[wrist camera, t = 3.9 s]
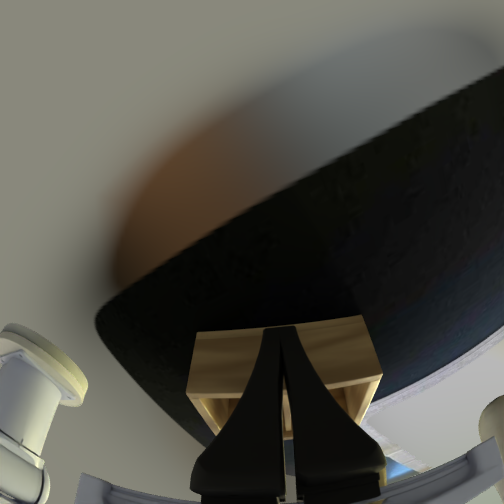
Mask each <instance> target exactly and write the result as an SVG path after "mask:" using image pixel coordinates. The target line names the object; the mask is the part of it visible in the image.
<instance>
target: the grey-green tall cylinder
mask: <svg viewBox="0 0 504 504" xmlns="http://www.w3.org/2000/svg"><path fill="white" fill-rule="evenodd" d="M479 435H480V439H481V442H484V441H486V440H488V439H489V438H491V437H493V436H495V438H496V441H497V444H498V447H499V451H500V454H501V457H502V461H503V464H504V395H502V396H500V397H498V398H496V399H495V400H493V401H492V402H491V403H490V404H489V405H487V406H486V408H485V409H484V410H483V412H482V414H481V416H480V420H479ZM494 486H495V488H496V489H497V491H498V493H499V495H500V497H501V499H502V501H503V504H504V478H503V479H502V480H500V481H499V482H497V483H496V484H494Z"/></svg>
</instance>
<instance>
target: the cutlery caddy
mask: <svg viewBox="0 0 504 504" xmlns="http://www.w3.org/2000/svg"><path fill="white" fill-rule="evenodd" d="M293 325H294V326H295V327H296V330H297V333H298V336H299V339H300V341H301V344H302V346H303V348H304V350H305V352H306V354H307V356H308V358H309V360H310V362H311V364H312V366H313V367H314V369H315V371H316V372H317V374H318V376H319V377H320V379H321V380H322V382H323V383H324V385H325V386H326V388H327V389H328V391H329V392H330V393H331V395H332V396H333V397H334V399H335V400H336V401H337V402H338V404H339V405H340V406H341V407H342V408H343V409H344V411H345V412H346V413H347V414H348V415H349V416H350V417H351V418H352V419H353V421H354V422H355V423H356V424H357V425H358V426H359V425H360V423H361V421H362V419H363V417H364V415H365V412H366V410H367V408H368V406H369V404H370V402H371V400H372V397H373V395H374V393H375V391H376V388H377V386H378V384H379V381H380V379H381V377H382V374H383V373H382V370H381V367H380V364H379V361H378V358H377V355H376V352H375V350H374V347H373V344H372V341H371V338H370V336H369V333H368V330H367V328H366V325H365V322H364V320H363V317H362V315H358V316H352V317H345V318H339V319H332V320H325V321H317V322H309V323H301V324H293ZM284 326H290V325H284ZM274 327H281V326H274ZM265 328H271V327H264V328H252V329H240V330H226V331H209V332H197V336H196V341H195V346H194V351H193V357H192V362H191V367H190V373H189V378H188V384H187V390H186V394H187V395H188V397H189V398H190V400H191V401H192V403H193V404H194V406H195V407H196V409H197V410H198V412H199V413H200V414H201V416H202V417H203V419H204V420H205V421H206V423H207V424H208V426H209V427H210V428H211V430H212V431H213V432H214V434H215V435H216V436H217V434H218V433H219V432H220V430H221V429H222V428H223V426H224V425H225V423H226V422H227V420H228V419H229V417H230V416H231V414H232V412H233V411H234V409H235V407H236V406H237V404H238V402H239V400H240V398H241V396H242V394H243V392H244V390H245V388H246V386H247V383H248V381H249V379H250V376H251V374H252V371H253V369H254V366H255V363H256V360H257V357H258V353H259V350H260V346H261V341H262V335H263V330H264V329H265ZM288 439H293V429H292V419H291V412H290V407H289V401H288V396H287V390H286V384H285V379H284V386H283V440H288Z"/></svg>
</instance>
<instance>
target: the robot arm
mask: <svg viewBox="0 0 504 504" xmlns="http://www.w3.org/2000/svg"><path fill="white" fill-rule="evenodd" d="M0 363H1V364H2V367H1V369H0V491H2V492H4V493H6V494H7V495H9V496H11V497H13V498H15V499H10V498H8V497H6V496H4V495H2V494H1V493H0V504H45V502H46V501H47V498H48V496H49V491H50V478H49V475H48V472H47V469H46V467H45V465H44V462H45V461H44V460H43V459H41V458H39V457H38V456H40V455H41V451H42V448H43V445H44V442H45V439H46V436H47V433H48V430H49V427H50V424H51V422H52V419H53V416H54V414H55V411H56V409H57V406H58V404H59V401H60V400H76V396H75V395H74V394H73V393H72V392H70V391H69V390H68V389H66V388H65V387H64V386H63V385H62V384H60V383H59V382H58V381H57V380H56V379H54V378H53V377H52V376H51V375H50V374H49V373H47V372H46V371H45V370H44V369H43V368H42V367H41V366H40V365H39V364H38V363H36V362H35V361H34V360H33V359H32V358H31V357H30V356H29V355H28V354H27V353H26V352H25V351H24V350H22V349H20V350H17V351H14V352H11V353H8V354H5V355H2V356H0ZM284 379H285V384H286V390H287V396H288V401H289V407H290V412H291V419H292V429H293V443H294V459H295V476H296V494H297V503H286V504H368V503H372V502H376V501H379V500H383V499H385V500H384V501H383V502H382V504H465V503H467V502H468V501H470V500H472V499H473V498H475V497H476V496H478V495H479V494H481V493H482V492H484V491H485V490H487V489H488V488H490V487H491V486H493V485H494V484H496V483H497V482H499V481H500V480H502V479H503V478H504V464H503V461H502V457H501V454H500V451H499V447H498V444H497V441H496V438H495V436H493V437H491V438H489V439H488V440H486V441H484V442H482V443H481V444H479V445H477V446H476V447H474V448H472V449H471V450H469V451H468V452H467V453H466V454H464V455H462V456H460V457H458V458H456V459H454V460H452V461H449V462H447V463H445V464H443V465H441V466H438V467H436V468H434V469H431V470H429V471H426V472H424V473H421V474H419V475H416V476H413V477H410V478H408V479H405V480H402V481H399V482H395V483H392V484H389V485H386V486H382V487H380V486H379V480H380V474H379V472H380V471H381V470H382V469H384V468H385V466H386V465H387V463H386V459H385V456H384V453H383V451H382V449H381V448H380V446H379V444H378V443H377V442H376V441H375V440H374V439H373V438H371V437H370V436H369V435H368V434H367V433H366V432H365V431H364V430H363V429H362V428H361V427H360V426H358V425H357V424H356V423H355V422H354V421H353V419H352V418H351V417H350V416H349V415H348V414H347V413H346V412H345V411H344V409H343V408H342V407H341V406H340V405H339V404H338V402H337V401H336V400H335V399H334V397H333V396H332V395H331V393H330V392H329V391H328V389H327V388H326V386H325V385H324V383H323V382H322V380H321V379H320V377H319V376H318V374H317V372H316V371H315V369H314V367H313V366H312V364H311V362H310V360H309V358H308V356H307V354H306V352H305V350H304V348H303V346H302V344H301V341H300V339H299V336H298V333H297V330H296V327H295V326H294V325H290V326H281V327H271V328H265V329H264V330H263V335H262V341H261V346H260V350H259V353H258V357H257V360H256V363H255V366H254V369H253V371H252V374H251V376H250V379H249V381H248V383H247V386H246V388H245V390H244V392H243V394H242V396H241V398H240V400H239V402H238V404H237V406H236V407H235V409H234V411H233V412H232V414H231V416H230V417H229V419H228V420H227V422H226V423H225V425H224V426H223V428H222V429H221V430H220V432H219V433H218V434H217V436H216V437H215V438H214V440H213V441H212V442H211V443H210V445H209V446H208V447H207V448H206V449H205V451H204V452H203V453H202V454H201V455H200V456H199V457H198V458H197V460H196V462H195V465H194V468H193V471H192V474H191V481H190V489H191V491H193V492H195V493H197V494H200V495H201V502H195V501H187V500H180V499H173V498H167V497H161V496H157V495H152V494H147V493H143V492H138V491H134V490H130V489H126V488H123V487H120V486H116V485H113V484H111V483H109V482H107V481H104V480H102V479H99V478H96V477H93V476H90V475H88V474H85V473H81V476H80V480H79V485H78V489H77V493H76V499H75V503H74V504H280V502H284V501H286V499H285V495H286V494H287V493H286V475H285V457H284V440H283V386H284ZM36 455H37V456H36Z"/></svg>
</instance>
